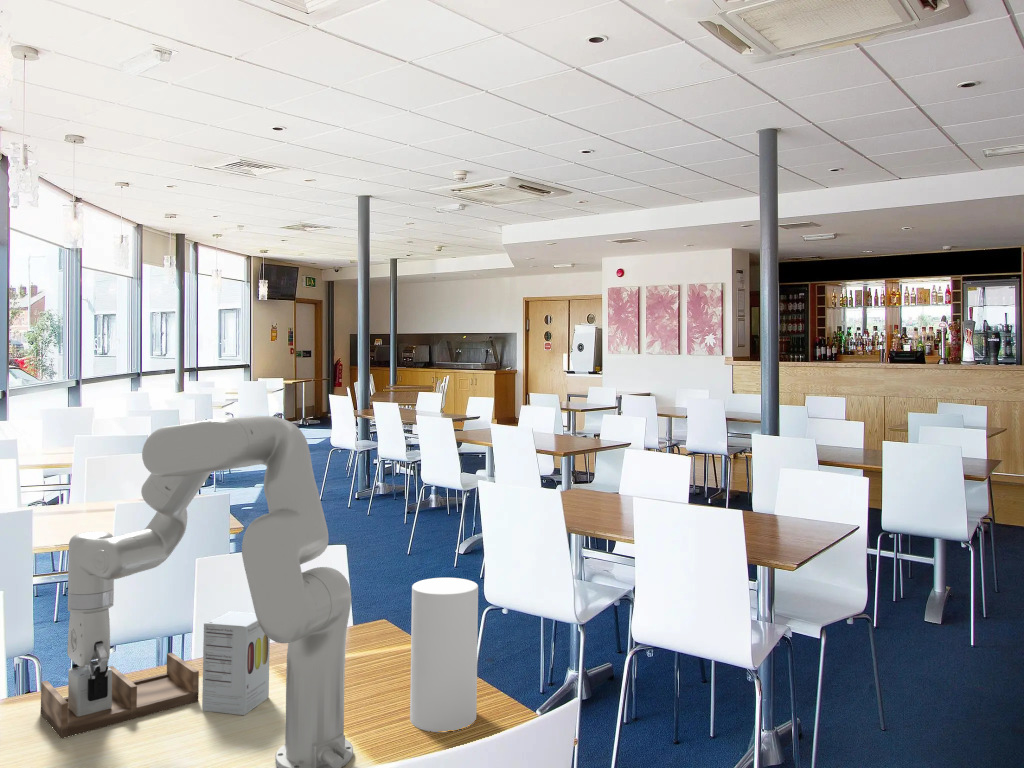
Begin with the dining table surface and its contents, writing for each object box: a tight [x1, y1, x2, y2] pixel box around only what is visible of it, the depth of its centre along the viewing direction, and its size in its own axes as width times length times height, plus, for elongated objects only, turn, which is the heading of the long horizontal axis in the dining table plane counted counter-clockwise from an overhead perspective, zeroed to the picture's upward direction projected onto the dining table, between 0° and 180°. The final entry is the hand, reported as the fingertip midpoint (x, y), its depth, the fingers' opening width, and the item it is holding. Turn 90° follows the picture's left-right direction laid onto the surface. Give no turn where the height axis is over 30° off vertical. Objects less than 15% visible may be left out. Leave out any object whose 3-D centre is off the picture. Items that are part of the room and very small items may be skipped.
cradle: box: [40, 652, 200, 739], centre depth 149 cm, size 14×24×6 cm, turn 134°
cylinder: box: [409, 577, 479, 733], centre depth 146 cm, size 12×12×25 cm
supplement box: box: [201, 610, 271, 716], centre depth 151 cm, size 10×9×17 cm
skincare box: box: [67, 665, 112, 717], centre depth 145 cm, size 6×6×7 cm
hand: (89, 691), depth 145 cm, fingers open, 9 cm apart
